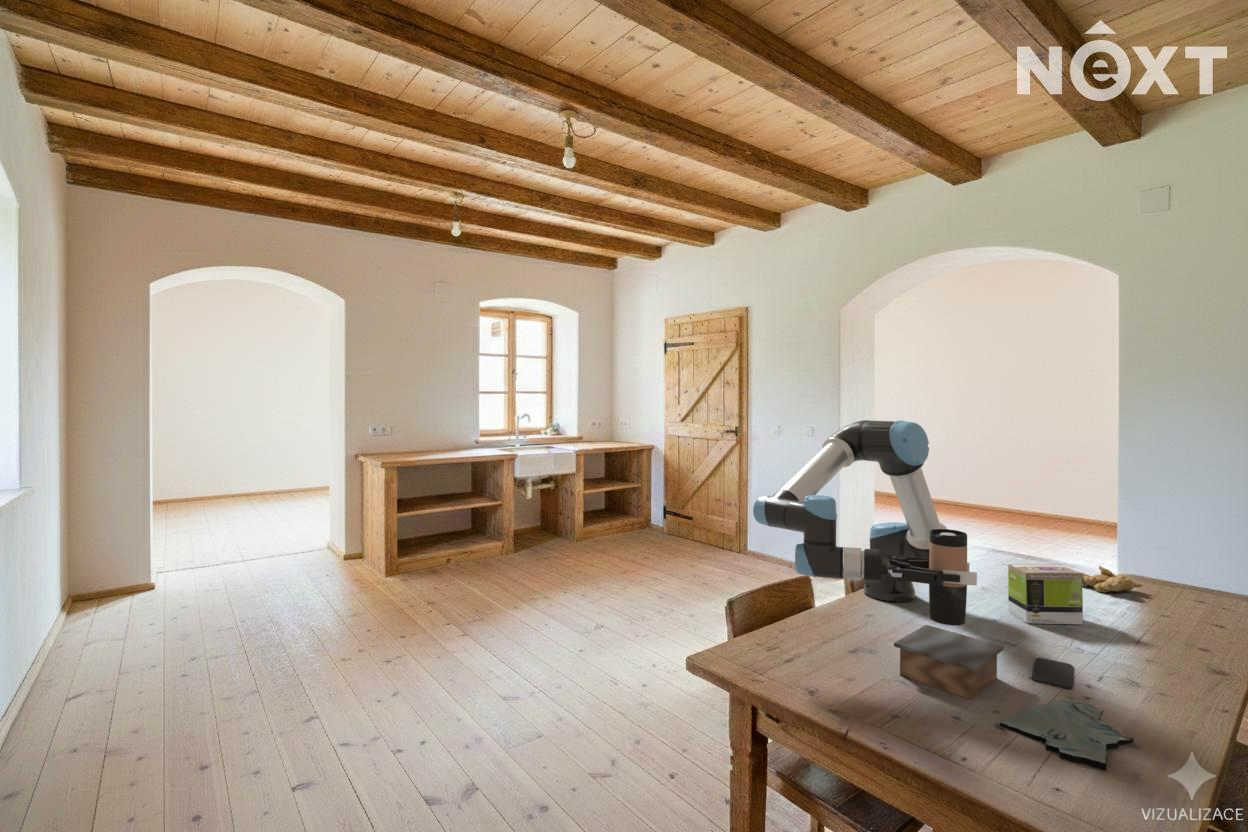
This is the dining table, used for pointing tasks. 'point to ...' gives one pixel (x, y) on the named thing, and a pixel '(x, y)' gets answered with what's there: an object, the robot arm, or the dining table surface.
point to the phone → (1053, 673)
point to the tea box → (1045, 593)
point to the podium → (948, 660)
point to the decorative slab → (1069, 731)
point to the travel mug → (950, 598)
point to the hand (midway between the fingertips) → (972, 573)
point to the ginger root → (1109, 581)
